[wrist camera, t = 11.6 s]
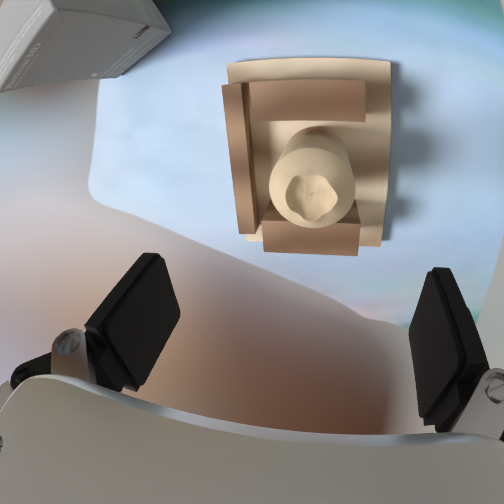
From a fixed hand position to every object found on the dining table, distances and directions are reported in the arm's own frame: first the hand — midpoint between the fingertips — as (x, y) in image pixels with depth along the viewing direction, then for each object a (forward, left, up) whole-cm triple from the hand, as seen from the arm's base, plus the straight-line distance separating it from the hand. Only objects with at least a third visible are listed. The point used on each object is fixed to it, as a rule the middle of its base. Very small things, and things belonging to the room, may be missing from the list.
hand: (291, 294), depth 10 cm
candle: (0, 0, -19) cm, 19 cm away
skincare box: (-15, -17, -20) cm, 30 cm away
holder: (0, 0, -20) cm, 20 cm away
